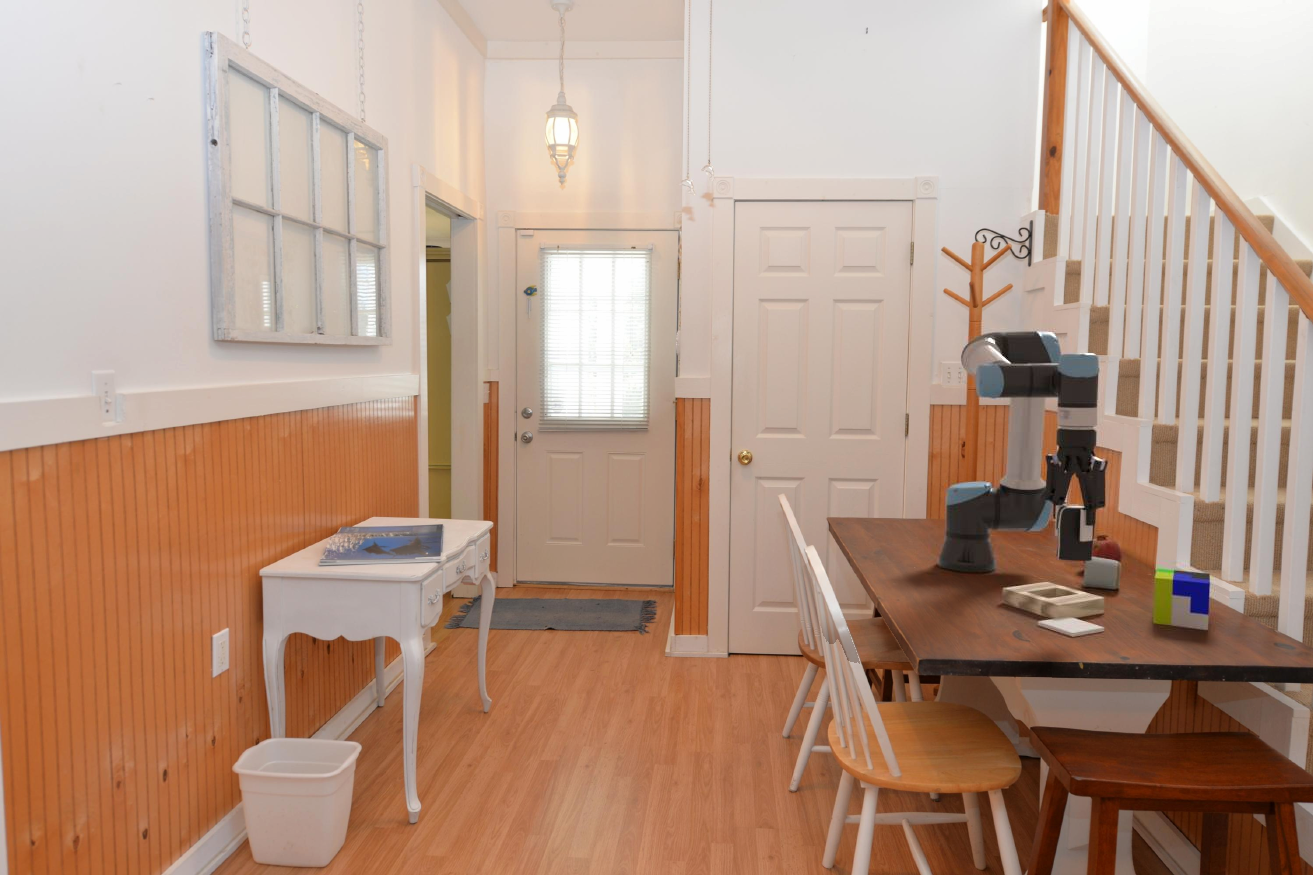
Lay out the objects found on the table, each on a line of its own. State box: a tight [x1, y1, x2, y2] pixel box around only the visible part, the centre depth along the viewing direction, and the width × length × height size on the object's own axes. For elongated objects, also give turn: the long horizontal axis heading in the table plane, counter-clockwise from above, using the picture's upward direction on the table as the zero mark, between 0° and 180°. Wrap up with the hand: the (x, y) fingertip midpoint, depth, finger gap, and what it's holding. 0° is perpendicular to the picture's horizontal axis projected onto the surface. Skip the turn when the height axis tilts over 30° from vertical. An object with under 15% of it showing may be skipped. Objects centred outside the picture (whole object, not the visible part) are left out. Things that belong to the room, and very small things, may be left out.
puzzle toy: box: [1152, 568, 1211, 631], centre depth 190 cm, size 10×10×10 cm
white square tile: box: [1037, 616, 1105, 638], centre depth 185 cm, size 9×9×1 cm
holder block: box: [1002, 581, 1106, 619], centre depth 201 cm, size 16×14×4 cm
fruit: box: [1083, 534, 1123, 564], centre depth 234 cm, size 11×10×10 cm
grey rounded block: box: [1082, 557, 1122, 590], centre depth 220 cm, size 11×8×8 cm
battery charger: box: [1056, 505, 1096, 562], centre depth 184 cm, size 7×4×11 cm, turn 86°
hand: (1073, 537), depth 184 cm, fingers closed on battery charger, 6 cm apart
